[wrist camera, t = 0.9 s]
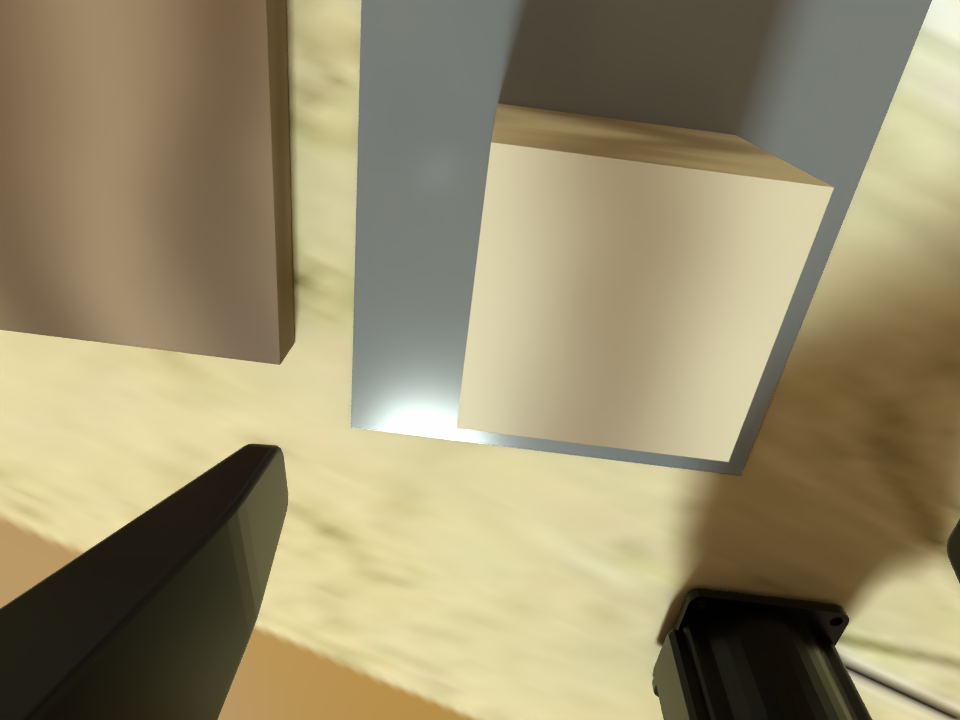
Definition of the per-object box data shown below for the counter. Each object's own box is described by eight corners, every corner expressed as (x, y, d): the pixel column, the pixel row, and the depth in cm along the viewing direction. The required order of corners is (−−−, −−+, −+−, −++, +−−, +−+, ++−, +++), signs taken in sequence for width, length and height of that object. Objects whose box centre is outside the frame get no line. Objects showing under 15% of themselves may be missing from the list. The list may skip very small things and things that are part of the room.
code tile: (948, -53, 15) (954, -54, 15) (738, 472, 23) (741, 476, 23) (366, -134, 15) (364, -136, 15) (352, 424, 23) (350, 428, 22)
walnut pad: (281, -201, 14) (257, -222, 13) (294, 342, 21) (280, 364, 20) (-343, -287, 14) (-430, -319, 13) (-129, 289, 21) (-173, 307, 20)
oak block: (735, 134, 17) (834, 187, 12) (672, 345, 20) (728, 462, 15) (497, 103, 17) (491, 142, 12) (470, 320, 20) (456, 428, 15)
